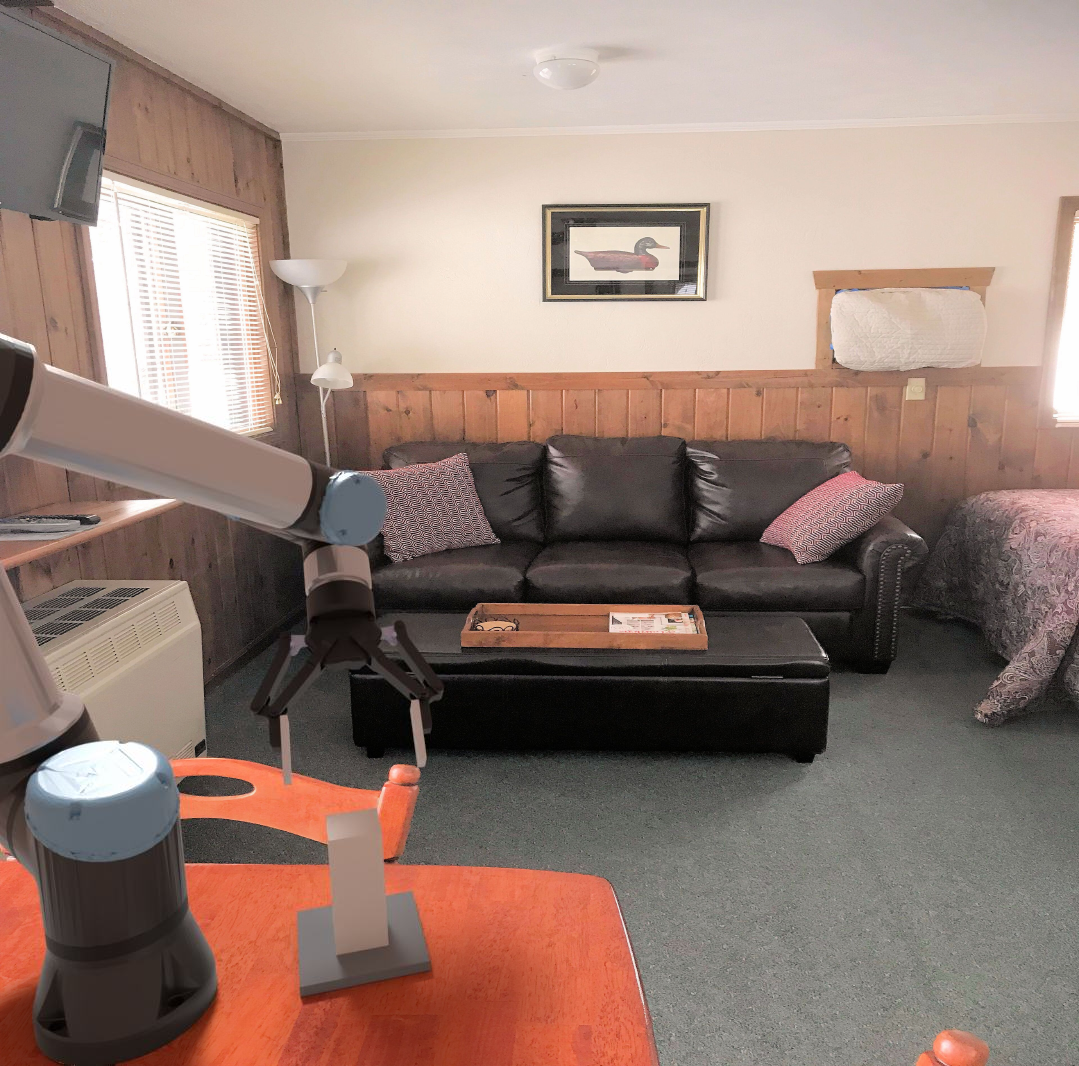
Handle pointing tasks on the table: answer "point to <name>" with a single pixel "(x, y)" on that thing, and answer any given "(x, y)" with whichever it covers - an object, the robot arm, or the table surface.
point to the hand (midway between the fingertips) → (356, 772)
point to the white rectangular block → (357, 880)
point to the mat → (365, 966)
